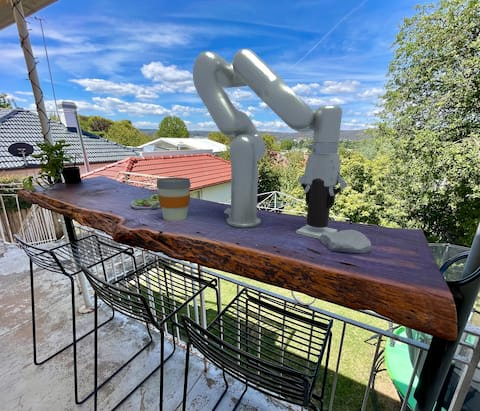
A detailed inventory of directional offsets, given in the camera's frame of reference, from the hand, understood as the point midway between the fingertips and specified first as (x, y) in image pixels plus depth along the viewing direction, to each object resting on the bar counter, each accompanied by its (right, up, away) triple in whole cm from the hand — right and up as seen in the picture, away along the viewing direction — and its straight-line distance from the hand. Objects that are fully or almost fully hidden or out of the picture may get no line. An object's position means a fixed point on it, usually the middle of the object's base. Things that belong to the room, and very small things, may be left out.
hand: (318, 205), depth 78 cm
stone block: (+5, -12, -9) cm, 16 cm away
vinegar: (0, -7, +2) cm, 7 cm away
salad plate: (-68, 0, +36) cm, 77 cm away
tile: (0, -9, +2) cm, 10 cm away
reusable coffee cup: (-51, -5, +16) cm, 54 cm away
